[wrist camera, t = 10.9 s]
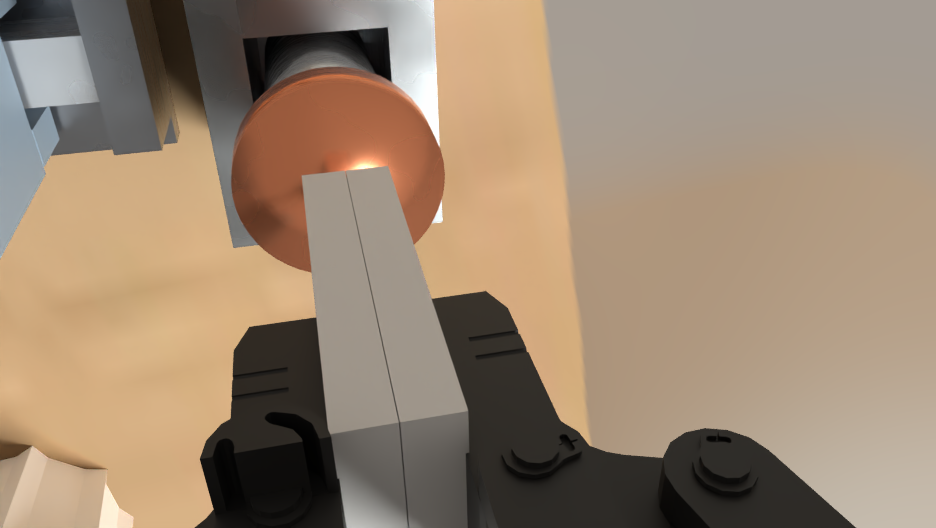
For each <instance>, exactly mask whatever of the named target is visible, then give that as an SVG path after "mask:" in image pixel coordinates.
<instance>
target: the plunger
mask: <svg viewBox="0 0 936 528" xmlns="http://www.w3.org/2000/svg"><path fill="white" fill-rule="evenodd" d="M383 166H388V167H389V170H390V173H391V176H392V179H393V182H394V185H395V189H396V192H397V195H398V198H399V201H400V204H401V207H402V210H403V213H404V216H405V219H406V222H407V225H408V228H409V231H410V234H411V237H412V240H413V244H415V243H416V242H417V241H418V240H419V239H420V238H421V237H422V236H423V234H424V233H425V232H426V231H427V229H428V228H429V226H430V225H431V223H432V221H433V220H434V218H435V216H436V213H437V211H438V209H439V206H440V203H441V200H442V196H443V190H444V179H445V172H444V163H443V158H442V154H441V150H440V147H439V145H438V142H437V140H436V138H435V136H434V134H433V131H432V129H431V127H430V125H429V123H428V121H427V119H426V118H425V116H424V114H423V113H422V111H421V109H420V108H419V107H418V105H417V104H416V103H415V102H414V100H413V99H412V98H411V97H410V96H409V95H408V94H407V93H405V92H404V91H403V90H402V89H401V88H399V87H398V86H396V85H395V84H394V83H392V82H390V81H389V80H387V79H385V78H383V77H381V76H379V75H376V74H375V72H374V69H373V67H372V64H371V62H370V59H369V57H368V54H367V51H366V49H365V46H364V44H363V41H362V39H361V37H360V34H359V33H358V31H357V30H346V31H333V32H320V33H308V34H295V35H282V36H270V37H268V38H267V41H266V45H265V93H263V94H262V95H261V96H260V97H259V98H258V100H257V101H256V102H255V103H254V104H253V105H252V106H251V108H250V109H249V111H248V112H247V113H246V115H245V117H244V119H243V121H242V123H241V124H240V126H239V129H238V132H237V135H236V138H235V142H234V148H233V156H232V170H231V188H232V197H233V201H234V204H235V208H236V211H237V213H238V215H239V218H240V220H241V222H242V224H243V225H244V227H245V229H246V230H247V232H248V233H249V234H250V236H251V237H252V238H253V239H254V240H255V242H256V243H257V244H259V245H260V246H261V247H262V248H263V249H264V250H265V251H266V252H268V253H269V254H271V255H272V256H273V257H275V258H276V259H278V260H280V261H282V262H284V263H286V264H287V265H290V266H292V267H295V268H298V269H300V270H304V271H308V272H312V270H311V261H310V251H309V242H308V232H307V222H306V213H305V203H304V193H303V184H302V175H310V174H319V173H328V172H337V171H345V173H346V170H355V169H364V168H373V167H383Z"/></svg>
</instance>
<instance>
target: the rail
mask: <svg viewBox="0 0 936 528" xmlns="http://www.w3.org/2000/svg"><path fill="white" fill-rule="evenodd" d="M16 2H17V3H16V4H15V5H14V6H13V7H12V8H11V9H10V10H9V11H8V12H7V13H6V14H4V15H3V16H2V17H1V18H0V37H1V40H2V43H3V46H4V49H5V52H6V55H7V58H8V61H9V64H10V67H11V70H12V73H13V76H14V79H15V83H16V86H17V89H18V92H19V95H20V98H21V101H22V104H23V107H24V109H27V108H38V107H50V110H51V114H52V117H53V120H54V123H55V126H56V129H57V133H58V136H59V141H58V143H57V145H56V146H55V148H54V150H53V152H52V154H51V156H52V155H62V154H72V153H81V152H91V151H101V150H111V149H113V153H114V155H121V154H130V153H140V152H150V151H160V150H162V148H163V144H171V143H177V142H178V137H179V133H180V132H179V127H178V123H177V118H176V114H175V109H174V105H173V101H172V96H171V92H170V87H169V83H168V78H167V74H166V70H165V65H164V61H163V56H162V52H161V47H160V43H159V39H158V34H157V30H156V25H155V21H154V17H153V12H152V8H151V3H150V0H16Z"/></svg>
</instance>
